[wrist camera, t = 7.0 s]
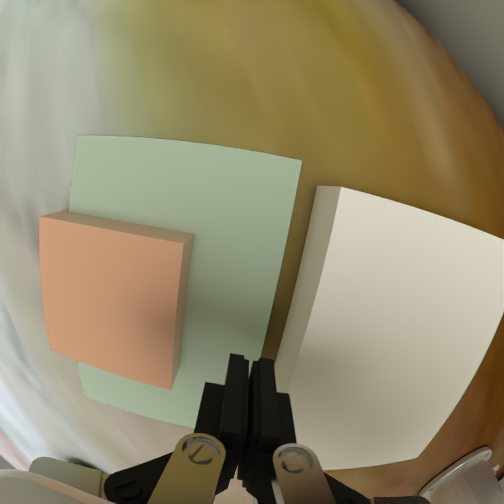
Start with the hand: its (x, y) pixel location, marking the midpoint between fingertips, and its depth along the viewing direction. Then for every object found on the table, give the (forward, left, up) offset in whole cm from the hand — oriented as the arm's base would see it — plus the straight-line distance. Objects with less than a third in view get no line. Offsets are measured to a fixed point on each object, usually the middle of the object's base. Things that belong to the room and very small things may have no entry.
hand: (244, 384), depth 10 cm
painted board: (-8, 0, -5) cm, 9 cm away
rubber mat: (+5, 0, -5) cm, 7 cm away
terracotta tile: (+7, -1, -2) cm, 8 cm away
